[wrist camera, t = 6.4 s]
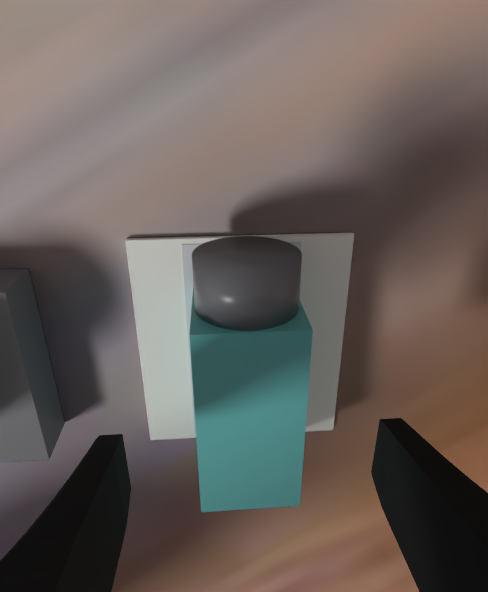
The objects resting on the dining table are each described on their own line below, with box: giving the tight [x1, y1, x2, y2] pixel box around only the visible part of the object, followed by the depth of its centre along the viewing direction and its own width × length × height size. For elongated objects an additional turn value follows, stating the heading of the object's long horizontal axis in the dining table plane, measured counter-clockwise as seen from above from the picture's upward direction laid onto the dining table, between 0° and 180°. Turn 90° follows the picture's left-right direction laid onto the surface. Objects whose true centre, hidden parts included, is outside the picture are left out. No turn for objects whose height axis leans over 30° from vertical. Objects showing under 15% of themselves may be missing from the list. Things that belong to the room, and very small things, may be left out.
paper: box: [125, 233, 354, 440], centre depth 17 cm, size 9×8×1 cm
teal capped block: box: [189, 236, 313, 512], centre depth 16 cm, size 9×4×4 cm, turn 0°
